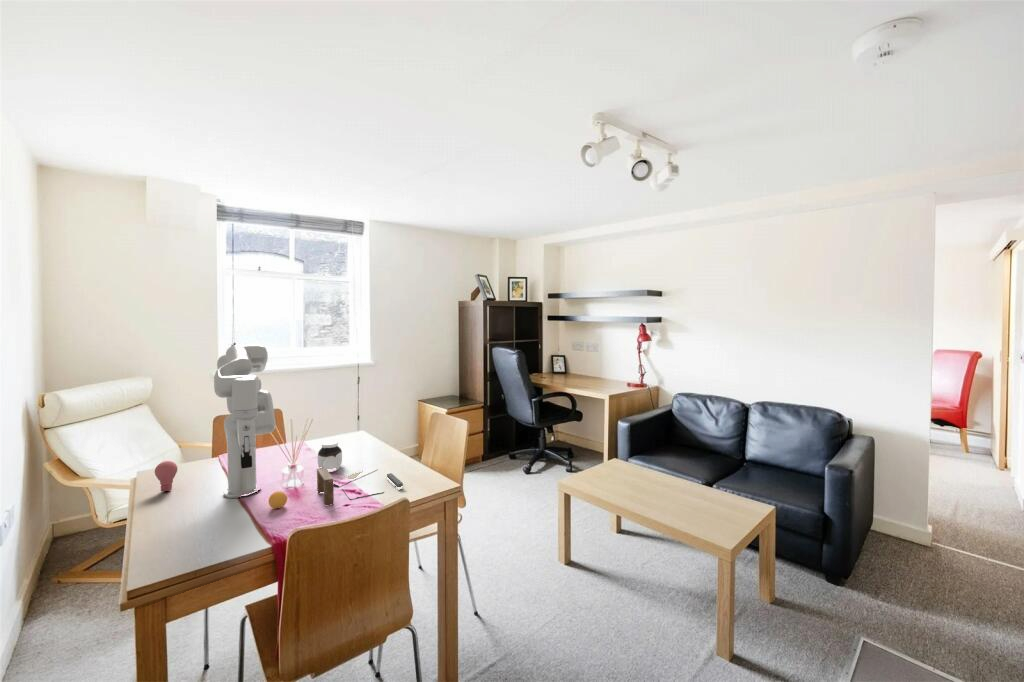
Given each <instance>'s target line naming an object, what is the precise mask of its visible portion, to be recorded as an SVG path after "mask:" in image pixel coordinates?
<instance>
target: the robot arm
mask: <svg viewBox="0 0 1024 682" xmlns="http://www.w3.org/2000/svg"><path fill="white" fill-rule="evenodd" d="M268 355H269V354H268V350H267V348H266V347H265V345H263V344H260V343H255V344H254V343H253V344H252V343H248V344H246V343H245V344H244V343H243V344H235V345H231V346H230V347H228V348H227V349H226V352H225V354H223V355H221V356H219V358H218V359H217V362H216V367H217V369H216V371H215V373H214V375H213V376H214V377H213V387H214V388H213V389H214V393H215V395H216V396H217V397H219V398H222V399H223V398H225V399H226V408H227V411H228V412H229V415H227V416H225V418H224V419H223V429H224V433H225V438H226V439H225V440H226V453H227V484H228V486H227V489H225V490H224V491H223V497H225V498H229V499H238V498H239V496H241V495H244V494H249V493H252V492H254V491H257V490H258V489H256V487H257V486H256V484H257V452H256V451H257V447H256V446H257V444H256V442H257V441H256V436H260V435H266V434H270V433H273V432H274V431H275V429H276V415H275V410H274V403H273V398H272V395H271V392H269V391H268V390H264V389H262V381H261V378H260V377H259V376H258V375H255V374H253V373H261V372H263V371H264V370H265V368H266V366H267V362H268V359H269V357H268ZM254 489H256V490H254Z"/></svg>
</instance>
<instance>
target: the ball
mask: <svg viewBox="0 0 1024 682" xmlns="http://www.w3.org/2000/svg"><path fill="white" fill-rule="evenodd" d="M287 502H288V495H287V494H286V493H285V492H284V491H282V490H281V491H280V490H277V491H274V492H273V493H272V494H270V495H269V497H268V505H269V506H270V508H272V509H274V508H279V509H281V508H283V507H284V506H286V504H287ZM280 507H281V508H280Z"/></svg>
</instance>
